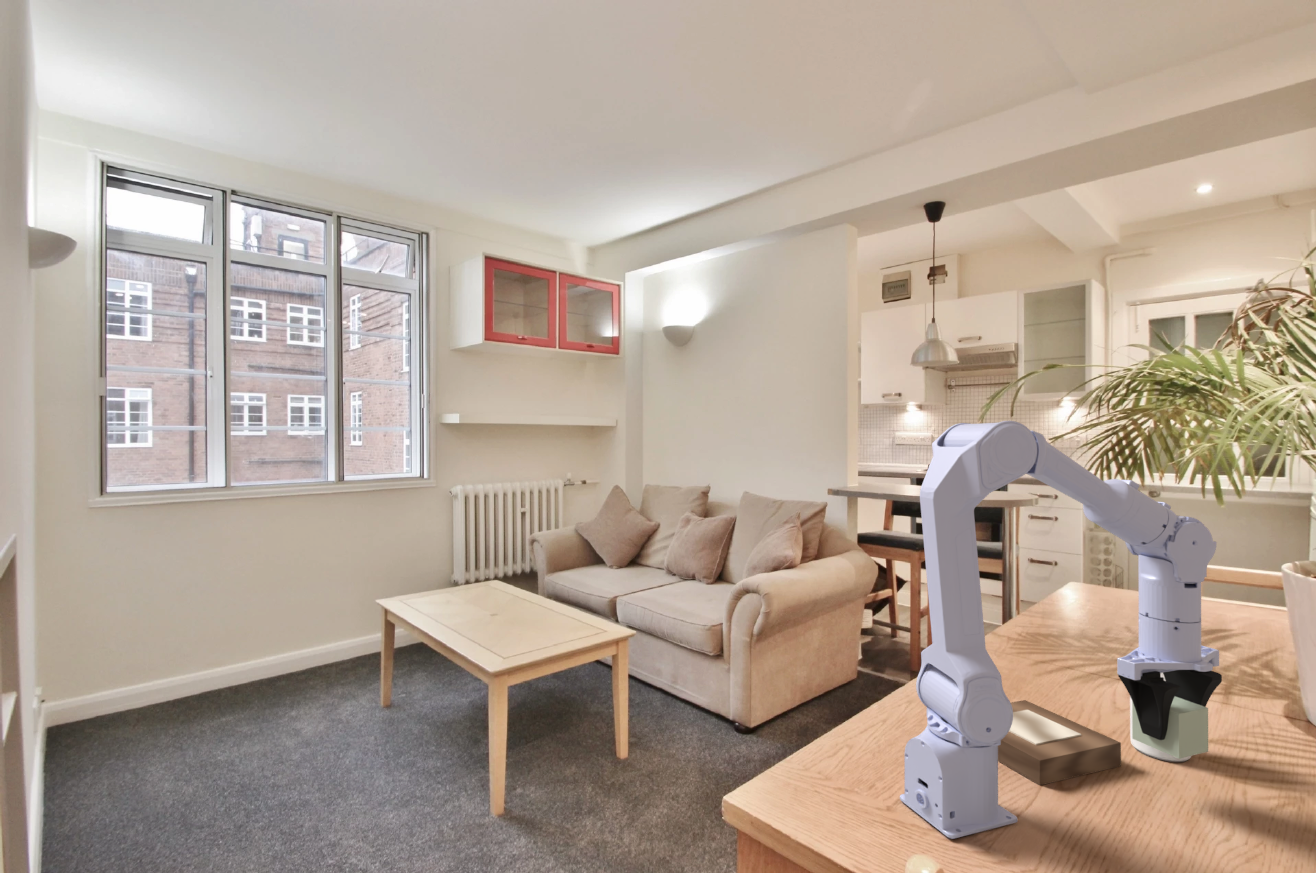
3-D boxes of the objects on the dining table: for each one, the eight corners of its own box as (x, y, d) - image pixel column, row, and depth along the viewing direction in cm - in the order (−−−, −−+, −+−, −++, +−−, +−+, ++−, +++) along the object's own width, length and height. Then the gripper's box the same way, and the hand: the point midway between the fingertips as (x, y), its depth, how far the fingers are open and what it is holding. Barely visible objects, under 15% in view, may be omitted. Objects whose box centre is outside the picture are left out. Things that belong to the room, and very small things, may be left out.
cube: (1179, 758, 70) (1178, 714, 70) (1132, 738, 75) (1132, 696, 75) (1208, 751, 72) (1208, 708, 72) (1160, 732, 76) (1160, 691, 76)
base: (1039, 785, 76) (1039, 758, 76) (951, 734, 89) (951, 711, 89) (1120, 766, 80) (1120, 741, 80) (1025, 720, 94) (1025, 698, 94)
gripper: (1164, 632, 67) (1164, 758, 67) (1250, 620, 72) (1250, 738, 72) (1099, 614, 74) (1099, 730, 74) (1181, 604, 79) (1181, 713, 78)
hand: (1169, 732), depth 73 cm, fingers closed on cube, 5 cm apart
